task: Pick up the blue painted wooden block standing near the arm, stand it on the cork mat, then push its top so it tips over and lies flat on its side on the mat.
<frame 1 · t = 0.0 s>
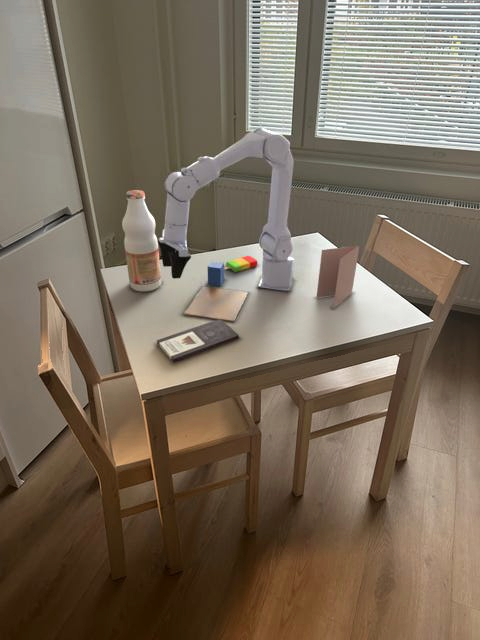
hand: (171, 271, 121), 11 cm above the table, tool pointing down, fingers open, 7 cm apart
greeting card: (338, 300, 130), on the table
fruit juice: (146, 285, 137), on the table
popsicle: (235, 268, 147), on the table
cork mat: (217, 303, 128), on the table
blue block: (216, 282, 139), on the table
chocolate bar: (198, 341, 112), on the table
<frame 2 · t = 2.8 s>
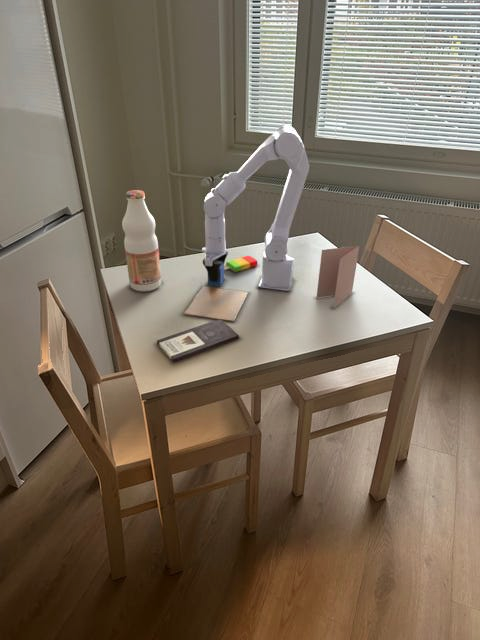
hand: (216, 277, 138), 2 cm above the table, tool pointing down, fingers closed on blue block, 4 cm apart
blue block: (216, 282, 139), on the table, touching gripper
everything else where it was.
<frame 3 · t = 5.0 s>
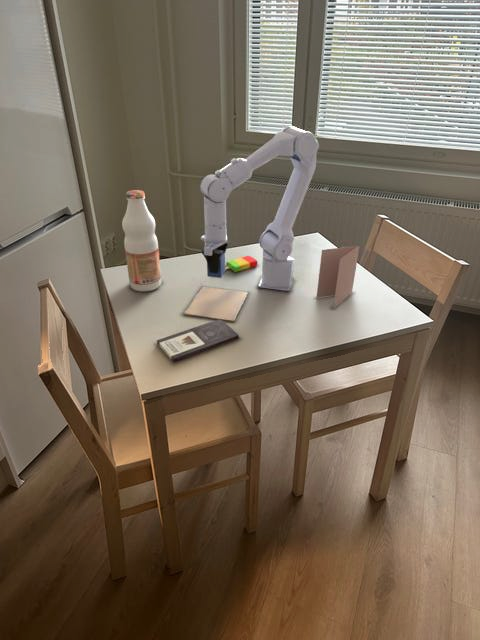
hand: (216, 268, 127), 8 cm above the table, tool pointing down, fingers closed on blue block, 4 cm apart
blue block: (216, 274, 128), point 7 cm above the table, touching gripper
everything else where it was.
when the fingers open (2 cm above the table, at t = 7.4 s): blue block stays where it is, resting on cork mat.
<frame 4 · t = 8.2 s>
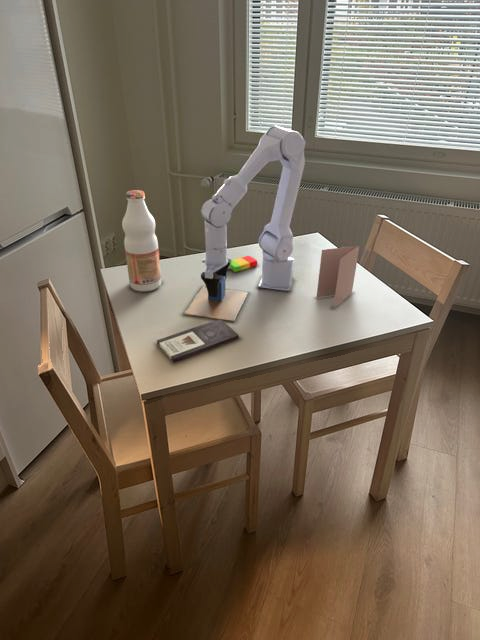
hand: (217, 289, 129), 3 cm above the table, tool pointing down, fingers open, 7 cm apart
blue block: (216, 297, 131), resting on cork mat
everything else where it was.
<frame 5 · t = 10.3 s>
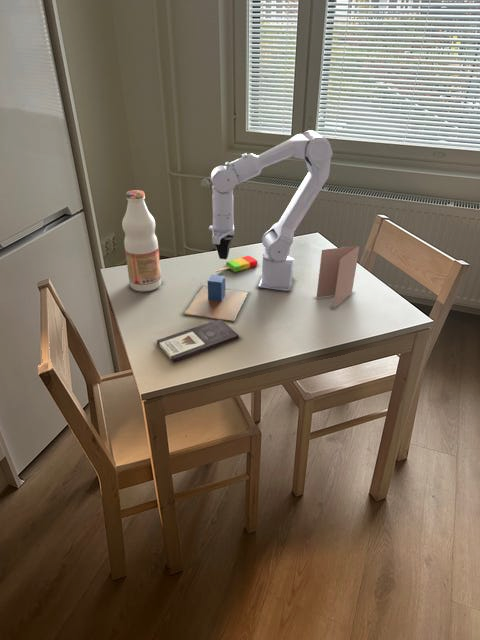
hand: (223, 258, 131), 9 cm above the table, tool pointing down, fingers closed
nothing on the table moved.
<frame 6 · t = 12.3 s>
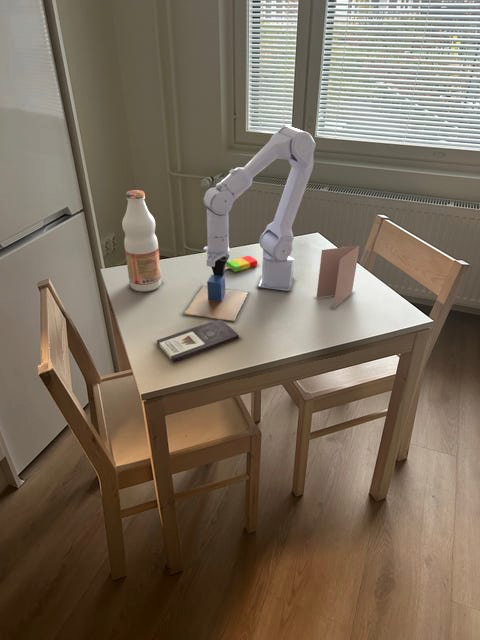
hand: (218, 279, 130), 5 cm above the table, tool pointing down, fingers closed, pressing on blue block
blue block: (216, 296, 130), resting on cork mat, touching gripper
everything else where it was.
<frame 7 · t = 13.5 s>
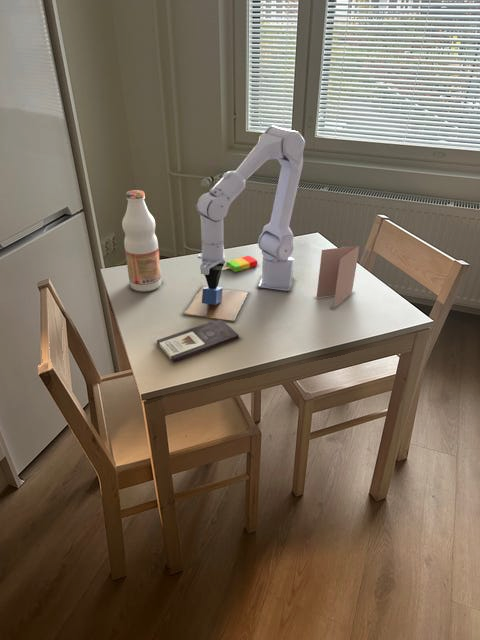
hand: (213, 286, 126), 5 cm above the table, tool pointing down, fingers closed
blue block: (215, 293, 128), point 2 cm above the table, tilted 70°, touching cork mat, gripper
everything else where it was.
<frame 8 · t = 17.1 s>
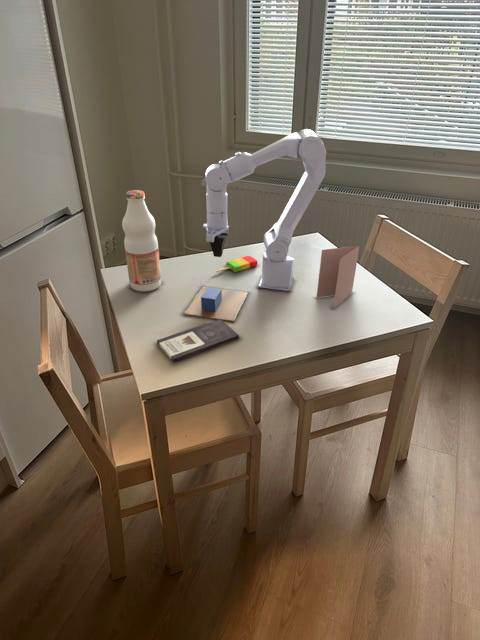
hand: (217, 255, 133), 9 cm above the table, tool pointing down, fingers closed
blue block: (214, 294, 128), point 2 cm above the table, tilted 90°, touching cork mat
everything else where it was.
at the end: blue block inside the target area on the cork mat (2.3 cm from its centre), point 2.3 cm above the cork mat's base; blue block tilted 90°; the gripper is holding nothing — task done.
